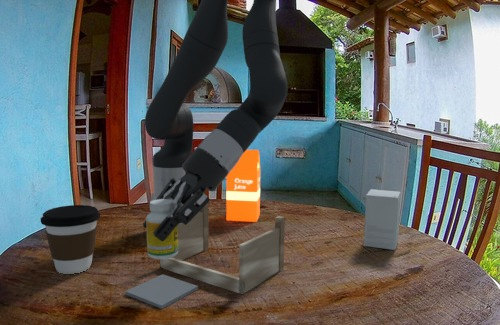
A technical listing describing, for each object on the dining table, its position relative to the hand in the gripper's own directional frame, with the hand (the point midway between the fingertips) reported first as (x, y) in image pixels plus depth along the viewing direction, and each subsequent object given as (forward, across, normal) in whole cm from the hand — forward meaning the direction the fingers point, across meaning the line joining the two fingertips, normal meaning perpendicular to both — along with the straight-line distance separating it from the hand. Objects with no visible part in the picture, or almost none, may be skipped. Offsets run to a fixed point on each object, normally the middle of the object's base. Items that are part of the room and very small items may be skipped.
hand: (152, 233), depth 73 cm
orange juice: (-19, -35, +35) cm, 53 cm away
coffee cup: (+15, -19, 0) cm, 24 cm away
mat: (+7, 0, +9) cm, 11 cm away
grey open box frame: (-3, -5, +19) cm, 20 cm away
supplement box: (-31, +1, +48) cm, 57 cm away
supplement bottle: (+2, 0, +4) cm, 5 cm away
